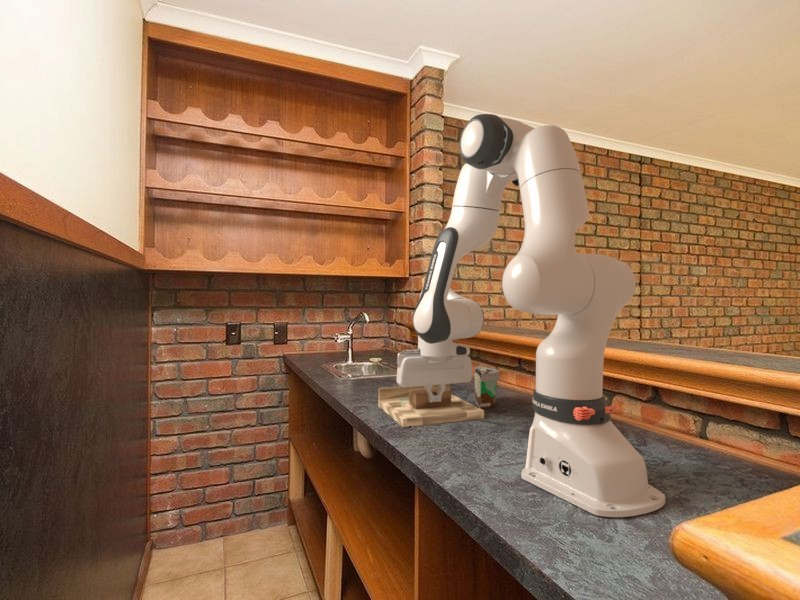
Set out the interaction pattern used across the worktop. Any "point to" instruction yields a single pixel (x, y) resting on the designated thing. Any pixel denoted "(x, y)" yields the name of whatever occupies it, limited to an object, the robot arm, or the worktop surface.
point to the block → (420, 398)
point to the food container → (485, 386)
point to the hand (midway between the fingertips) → (434, 401)
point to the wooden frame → (406, 415)
